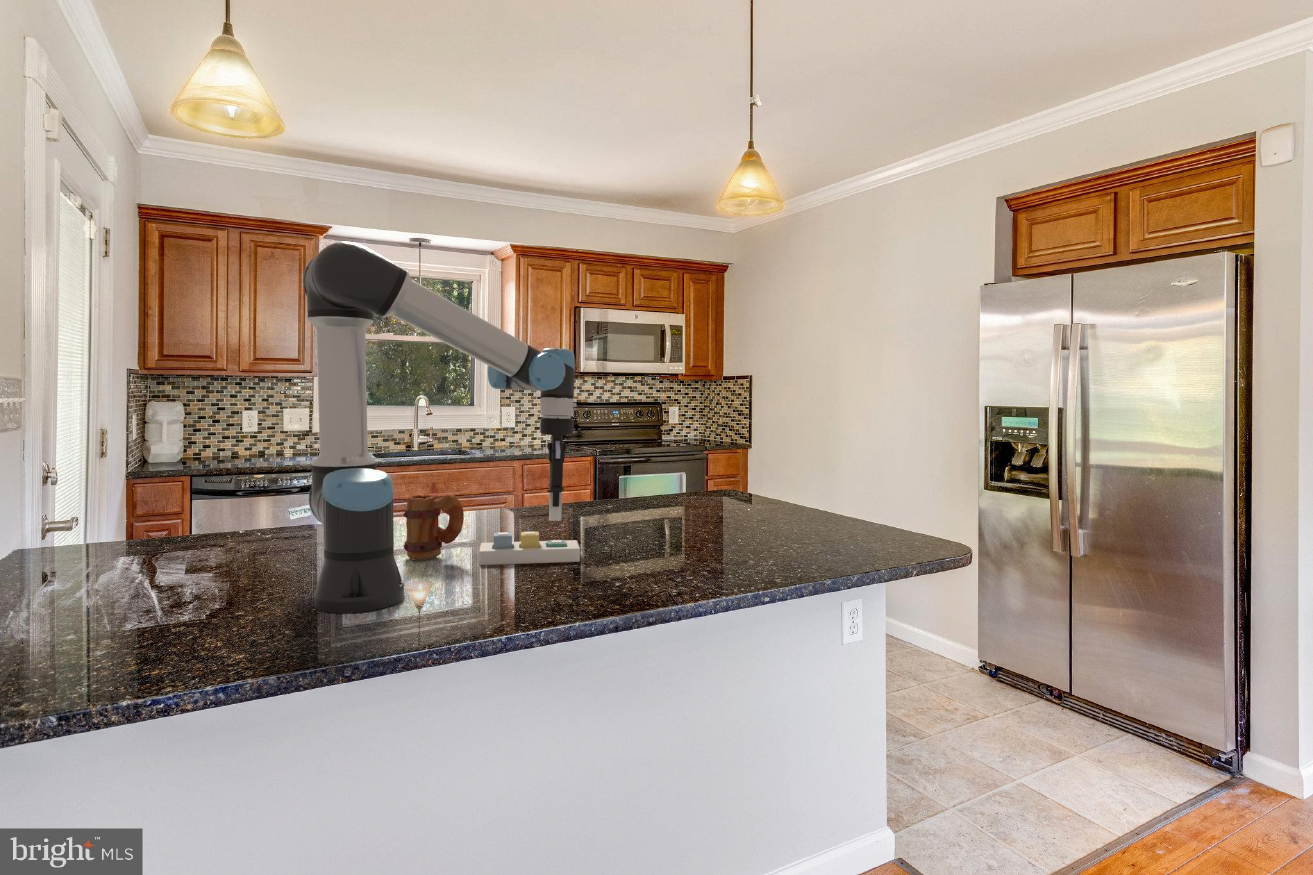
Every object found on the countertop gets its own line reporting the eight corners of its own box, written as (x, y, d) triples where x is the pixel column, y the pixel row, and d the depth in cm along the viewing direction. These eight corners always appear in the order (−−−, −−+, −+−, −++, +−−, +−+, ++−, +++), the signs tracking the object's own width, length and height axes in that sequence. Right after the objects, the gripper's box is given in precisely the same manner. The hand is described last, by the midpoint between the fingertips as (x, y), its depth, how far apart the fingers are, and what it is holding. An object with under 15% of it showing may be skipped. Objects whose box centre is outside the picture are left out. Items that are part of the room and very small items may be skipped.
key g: (548, 558, 163) (548, 543, 163) (547, 554, 167) (547, 539, 167) (565, 557, 164) (565, 542, 164) (564, 553, 168) (564, 539, 168)
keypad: (479, 564, 158) (479, 551, 158) (481, 555, 167) (481, 542, 167) (579, 561, 162) (579, 548, 162) (576, 552, 171) (576, 540, 171)
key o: (493, 550, 161) (493, 535, 161) (494, 546, 165) (494, 531, 164) (511, 549, 162) (511, 534, 161) (511, 545, 165) (511, 531, 165)
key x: (521, 549, 162) (521, 534, 162) (520, 545, 166) (520, 531, 166) (539, 548, 163) (539, 534, 163) (538, 545, 167) (538, 530, 166)
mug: (394, 560, 161) (393, 494, 160) (416, 553, 169) (415, 489, 168) (451, 566, 157) (450, 497, 156) (471, 558, 164) (471, 492, 163)
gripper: (576, 418, 158) (573, 525, 159) (571, 416, 171) (569, 515, 172) (541, 417, 156) (539, 525, 158) (539, 416, 169) (537, 515, 171)
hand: (555, 520), depth 165 cm, fingers closed
